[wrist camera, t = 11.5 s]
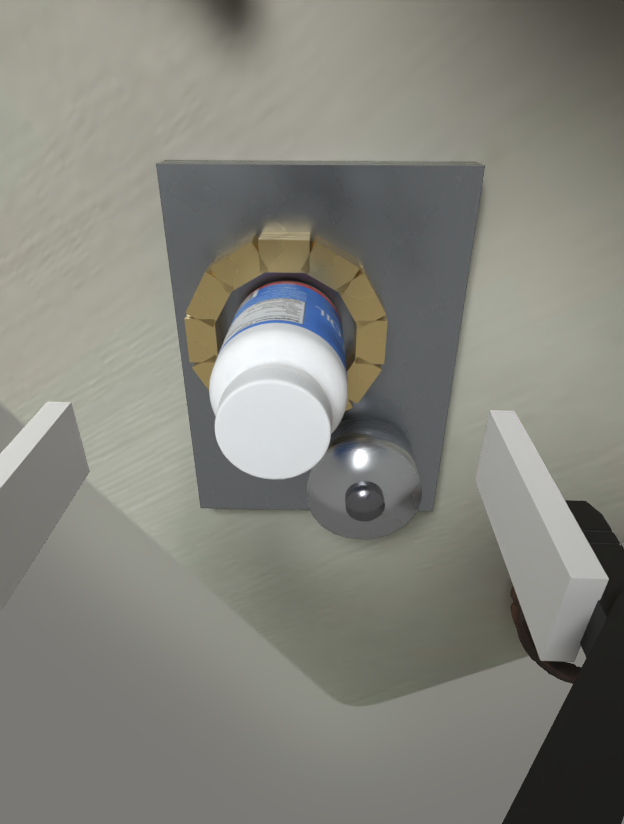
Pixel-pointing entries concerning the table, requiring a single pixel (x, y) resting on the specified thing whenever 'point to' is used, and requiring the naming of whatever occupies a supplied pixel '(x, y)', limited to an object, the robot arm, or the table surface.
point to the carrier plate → (355, 303)
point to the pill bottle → (280, 381)
